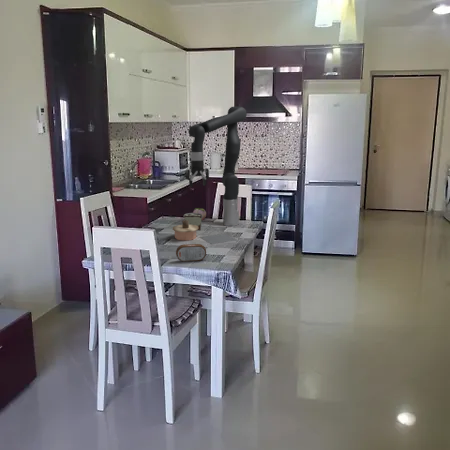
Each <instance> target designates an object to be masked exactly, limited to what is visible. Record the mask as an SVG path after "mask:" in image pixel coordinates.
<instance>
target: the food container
mask: <svg viewBox="0 0 450 450" xmlns="http://www.w3.org/2000/svg"><path fill="white" fill-rule="evenodd" d="M202 218H203V216H202V214H199V213H193V212H189V213H188V212H187V213H185V214H183V219H184V220H188V221H189V225H196V226H198V227H199V229H198V230H196V232H198V231H201V230H202V221H203V220H202Z"/></svg>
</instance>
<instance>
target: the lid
mask: <svg viewBox="0 0 450 450" xmlns="http://www.w3.org/2000/svg"><path fill="white" fill-rule="evenodd" d="M181 221H182V224H177V225H174V226H173V227H172V230H173V232H175V231H177V232H193V231H196V230H198V229H199V227H198V226H196V225H189V221H188V220H181ZM196 232H197V231H196Z"/></svg>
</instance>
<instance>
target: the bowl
mask: <svg viewBox="0 0 450 450" xmlns="http://www.w3.org/2000/svg"><path fill="white" fill-rule="evenodd" d="M174 238H175V240H178V241H193V240H195V239H197V231H193V232H177V231H174Z"/></svg>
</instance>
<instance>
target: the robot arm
mask: <svg viewBox="0 0 450 450" xmlns="http://www.w3.org/2000/svg"><path fill="white" fill-rule="evenodd" d="M246 118H247V110H246V108H244V107H243V106H230V107H229V109H228V111H227V113H226V114H224V115H221V116H217V117H212V118H209V119H207V120H206V121H203V122H199V123H196V124H192V125H191V126H190V127H189V129H188V134H189V136H190V137H191V138H193V139H194V140H193V142H191V145H190V149H191V150H190V151H191V152H190V153H191V154H190V168H191V169H186V170H185V179H186V180H187V181H188V183H189V184H188V185H189V187H190V188H193V187H194V185H193V179H195V177H201V178H202V186H205V187H206V185H207V179H209V178H210V169H209V168H204V164H205V162H204V161H205V159H204V158H205V157H204V141H205V137H206V134H208V133H212V132H214V131H216V130H218V129H221V128H223V127H227V129H226V141H225V142H226V143H225V153H224V168H223V172H222V177H221V184H222V185H223V186H224V194H223V197H222V198H223V199H222V202H223V203H222V204H223V207H222V209H223V214H222V215H223V217H222V218H223V226H226V227H235V226H238V225H239V224H240V215H239V214H240V213H239V212H240V211H239V209H238V203H239V202H238V196H239V191H240V190H239V189H240V186H239V185H240V181H239V178H238V176H237V175H236V165H237V162H238V159H239V156H240V153H241V139H240V136H239V133H238V124H239V123H240V122H243V121H244V120H245V119H246Z"/></svg>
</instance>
